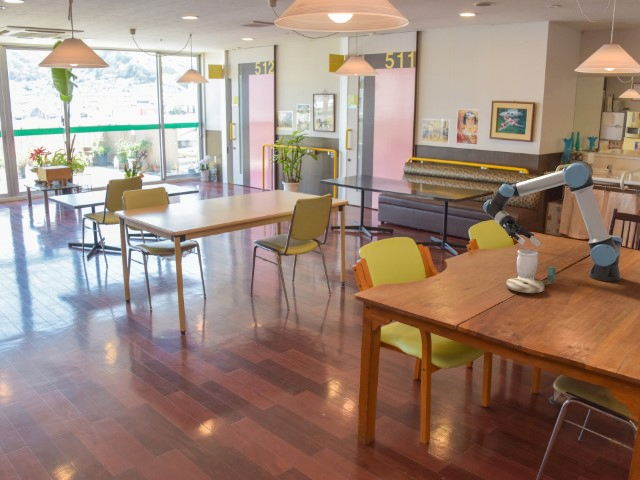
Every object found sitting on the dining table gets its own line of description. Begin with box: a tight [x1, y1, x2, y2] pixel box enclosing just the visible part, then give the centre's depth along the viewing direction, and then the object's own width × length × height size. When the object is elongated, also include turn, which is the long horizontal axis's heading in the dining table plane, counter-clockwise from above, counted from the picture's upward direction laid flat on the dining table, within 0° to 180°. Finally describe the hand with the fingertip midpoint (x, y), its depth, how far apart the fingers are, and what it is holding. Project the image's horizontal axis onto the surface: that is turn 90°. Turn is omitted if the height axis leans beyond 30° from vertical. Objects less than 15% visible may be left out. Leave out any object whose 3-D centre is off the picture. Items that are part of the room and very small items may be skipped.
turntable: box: [505, 266, 557, 294], centre depth 301 cm, size 27×18×8 cm, turn 115°
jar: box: [516, 248, 539, 280], centre depth 317 cm, size 11×10×15 cm
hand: (531, 244), depth 315 cm, fingers open, 13 cm apart
